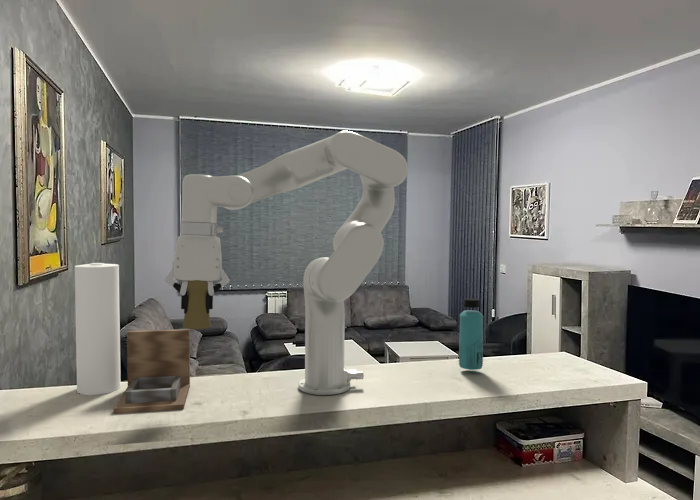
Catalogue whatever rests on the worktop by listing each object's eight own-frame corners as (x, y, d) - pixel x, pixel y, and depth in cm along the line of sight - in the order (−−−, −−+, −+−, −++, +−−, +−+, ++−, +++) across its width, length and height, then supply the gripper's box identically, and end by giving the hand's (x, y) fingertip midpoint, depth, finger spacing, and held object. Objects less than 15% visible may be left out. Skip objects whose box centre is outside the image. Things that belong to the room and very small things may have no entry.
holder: (189, 386, 129) (189, 329, 128) (183, 409, 113) (183, 344, 112) (128, 389, 126) (127, 331, 125) (113, 413, 110) (112, 347, 109)
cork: (207, 329, 115) (208, 279, 115) (179, 328, 115) (180, 278, 115) (213, 324, 121) (214, 276, 121) (186, 323, 121) (188, 275, 121)
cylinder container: (82, 397, 120) (80, 265, 118) (72, 387, 127) (70, 262, 125) (125, 389, 126) (123, 263, 124) (114, 380, 133) (112, 261, 131)
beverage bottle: (478, 376, 139) (480, 301, 137) (454, 372, 142) (455, 299, 141) (486, 371, 144) (487, 298, 143) (462, 367, 148) (464, 296, 146)
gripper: (237, 231, 123) (235, 309, 124) (161, 229, 119) (159, 309, 120) (237, 232, 116) (235, 315, 116) (157, 229, 112) (155, 315, 113)
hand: (196, 311), depth 118 cm, fingers closed on cork, 4 cm apart
